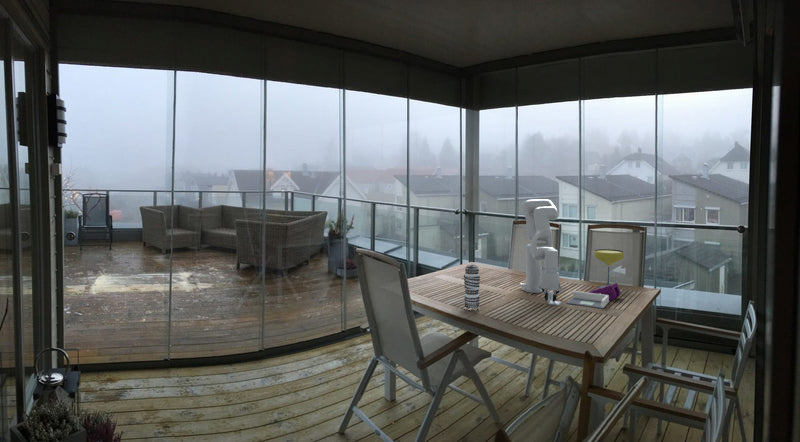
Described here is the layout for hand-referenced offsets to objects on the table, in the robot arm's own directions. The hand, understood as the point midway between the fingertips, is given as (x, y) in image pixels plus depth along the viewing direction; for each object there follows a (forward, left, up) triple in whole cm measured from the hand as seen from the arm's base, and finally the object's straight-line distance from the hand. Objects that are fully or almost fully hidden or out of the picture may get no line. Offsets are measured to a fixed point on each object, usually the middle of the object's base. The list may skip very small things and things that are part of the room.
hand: (550, 300), depth 273 cm
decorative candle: (-34, -36, -2) cm, 49 cm away
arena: (+18, +11, -2) cm, 22 cm away
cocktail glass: (+20, +58, -2) cm, 62 cm away
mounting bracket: (+22, +30, -2) cm, 37 cm away
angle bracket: (+2, 0, -2) cm, 3 cm away
